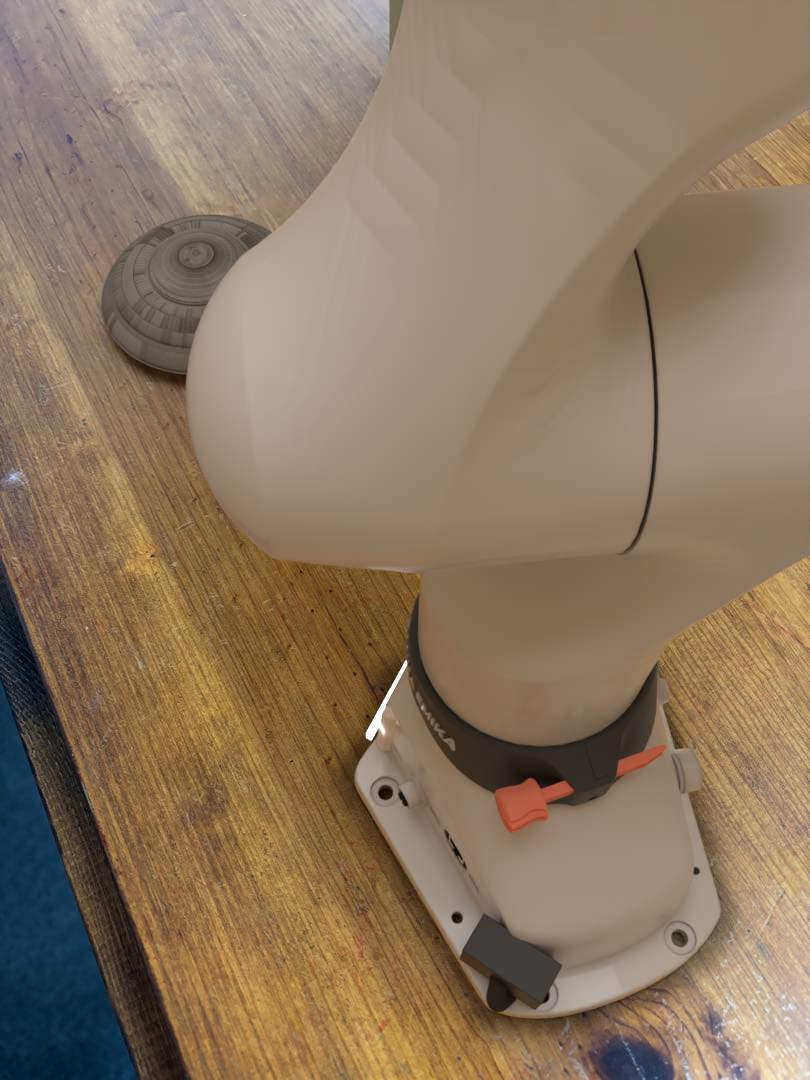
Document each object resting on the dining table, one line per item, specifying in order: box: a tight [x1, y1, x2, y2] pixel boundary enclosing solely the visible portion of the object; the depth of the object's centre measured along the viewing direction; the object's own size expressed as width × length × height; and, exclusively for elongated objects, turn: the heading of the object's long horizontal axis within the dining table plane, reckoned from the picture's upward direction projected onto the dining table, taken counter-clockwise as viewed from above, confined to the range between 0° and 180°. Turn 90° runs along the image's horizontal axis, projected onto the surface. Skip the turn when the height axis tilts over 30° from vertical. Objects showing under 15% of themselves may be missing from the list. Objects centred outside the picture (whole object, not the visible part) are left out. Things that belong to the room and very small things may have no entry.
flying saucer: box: [100, 213, 273, 376], centre depth 76 cm, size 15×15×6 cm
